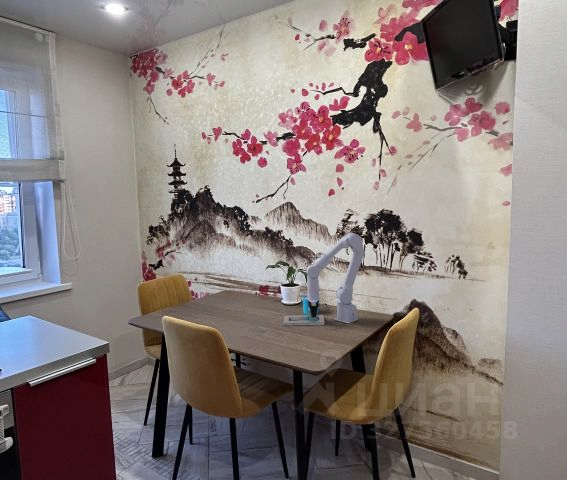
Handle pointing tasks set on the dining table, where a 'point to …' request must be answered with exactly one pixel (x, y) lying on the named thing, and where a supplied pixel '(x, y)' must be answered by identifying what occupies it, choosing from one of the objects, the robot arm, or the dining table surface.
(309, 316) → the plug
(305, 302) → the mug
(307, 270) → the robot arm
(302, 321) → the panel
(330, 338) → the dining table surface
